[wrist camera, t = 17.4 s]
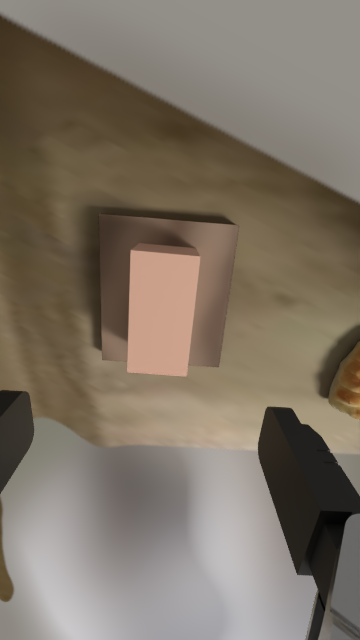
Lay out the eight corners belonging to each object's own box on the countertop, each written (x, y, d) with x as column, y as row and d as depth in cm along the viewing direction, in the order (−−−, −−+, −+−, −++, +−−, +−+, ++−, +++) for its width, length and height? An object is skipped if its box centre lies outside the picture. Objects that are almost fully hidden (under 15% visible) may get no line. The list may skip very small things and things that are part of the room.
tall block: (184, 349, 28) (195, 248, 25) (186, 376, 24) (200, 256, 20) (135, 345, 28) (139, 243, 25) (127, 372, 23) (130, 250, 20)
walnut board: (236, 224, 26) (239, 225, 24) (216, 360, 31) (218, 367, 29) (103, 213, 25) (98, 213, 24) (105, 353, 30) (102, 360, 29)
